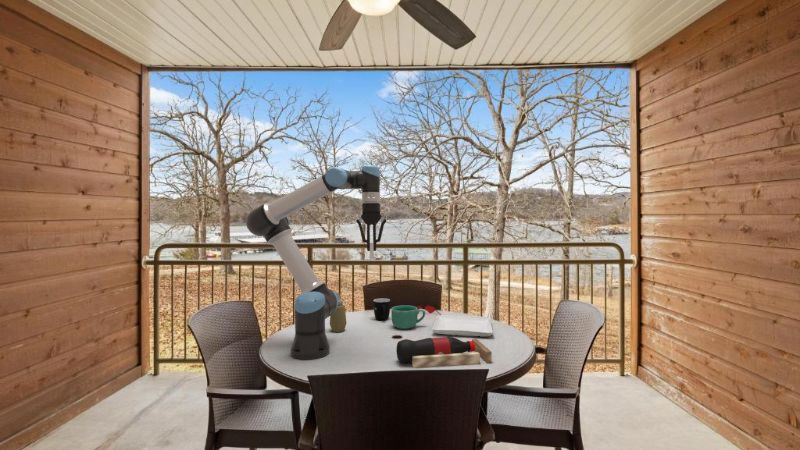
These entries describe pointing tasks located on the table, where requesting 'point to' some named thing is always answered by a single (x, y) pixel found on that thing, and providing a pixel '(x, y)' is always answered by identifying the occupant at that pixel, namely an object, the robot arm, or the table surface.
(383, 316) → the mug
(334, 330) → the squeeze bottle
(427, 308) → the glasses
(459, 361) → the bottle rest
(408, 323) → the mug
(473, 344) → the cola bottle
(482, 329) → the square plate
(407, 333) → the table surface
